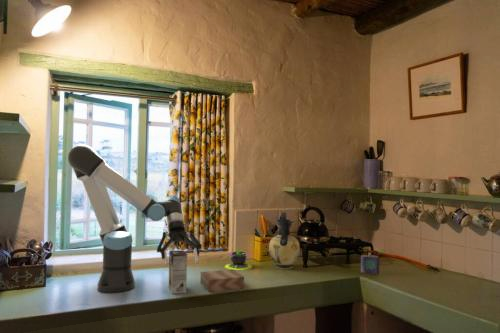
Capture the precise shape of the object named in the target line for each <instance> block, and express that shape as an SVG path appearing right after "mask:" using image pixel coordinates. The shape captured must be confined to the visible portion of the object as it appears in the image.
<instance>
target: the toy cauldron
mask: <svg viewBox="0 0 500 333" xmlns="http://www.w3.org/2000/svg"><path fill="white" fill-rule="evenodd" d="M241 247H242V248H243V246H240V247H238V246H237V248H236V247H235V249H240V250H238V251H235V249H232V251H233V252H230V253H229V252H228V255H229V256H230V257H229V258H230V260H231V263H227V264H225V265H224V268H225V269H226V270H231V269H234V270H235V271H244V270H250V269H252V267H253V266H252V265H251V264H248V263H246V261H247V256H249V254H250V253H248V252H245V251H246V249H245V250H244V251H241V250H242V249H241Z"/></svg>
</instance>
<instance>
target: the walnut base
mask: <svg viewBox="0 0 500 333" xmlns="http://www.w3.org/2000/svg"><path fill="white" fill-rule="evenodd" d="M200 284H201V286H203V287H204V289H205V290H206V291H207V292H208V293H212V292H221V291H232V289H233V290H240V289H241V288H242V289H245V276H244V275H242V274H241V273H239V272H238V270H234V269H221V270H219V269H218V270H211V271H210V270H209V271H207V270H206V271H201V272H200Z"/></svg>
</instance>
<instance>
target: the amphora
mask: <svg viewBox="0 0 500 333" xmlns="http://www.w3.org/2000/svg"><path fill="white" fill-rule="evenodd" d="M273 222H275V224H276V226H277V228H278V233H277V235H276V236H274V237H272V238H271V239H270V241H269V242H268V243H269V244H268V251H269V254H270V258H271V259H272V260H273V262H275V264H276V265H275V267H276V268H277V269H281V270H289V269H293V268H294V266H293V264H294V262H296V260H297V259H298V257H299V254H300V247H301V246H300V242H299V240H298V239H297V238H296V237H294V236H292V234H291V232H290V231H291V230H290V229H291V227H292V224H293V223H295V220H294V219H287V213H286V212H284V211H283V212H281V214H280V219H274V220H273Z"/></svg>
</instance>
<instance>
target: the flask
mask: <svg viewBox="0 0 500 333" xmlns="http://www.w3.org/2000/svg"><path fill="white" fill-rule="evenodd" d="M360 273H361V274H367V275H368V274H369V275H371V274H372V275H379V274H380V257H379V256H378V255H374V254H372V252H368V255H361V256H360Z"/></svg>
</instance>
